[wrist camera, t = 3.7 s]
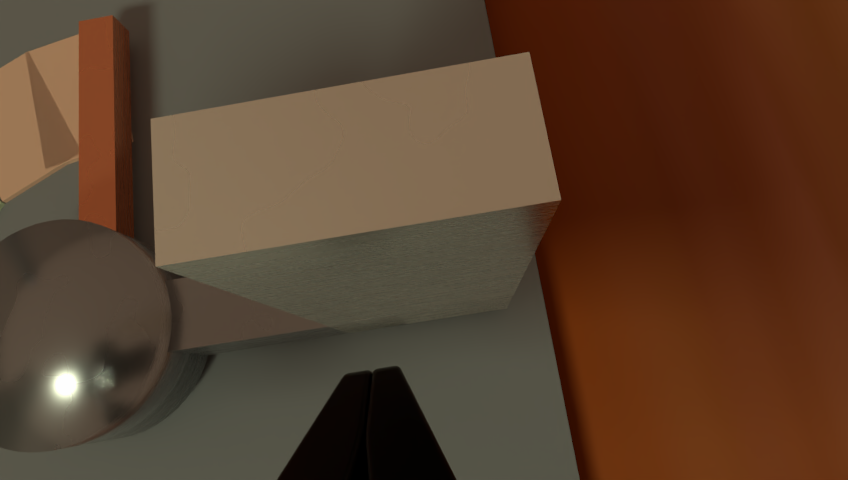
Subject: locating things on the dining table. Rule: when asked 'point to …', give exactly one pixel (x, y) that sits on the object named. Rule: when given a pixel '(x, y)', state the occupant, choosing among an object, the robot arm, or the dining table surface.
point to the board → (295, 361)
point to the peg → (263, 234)
